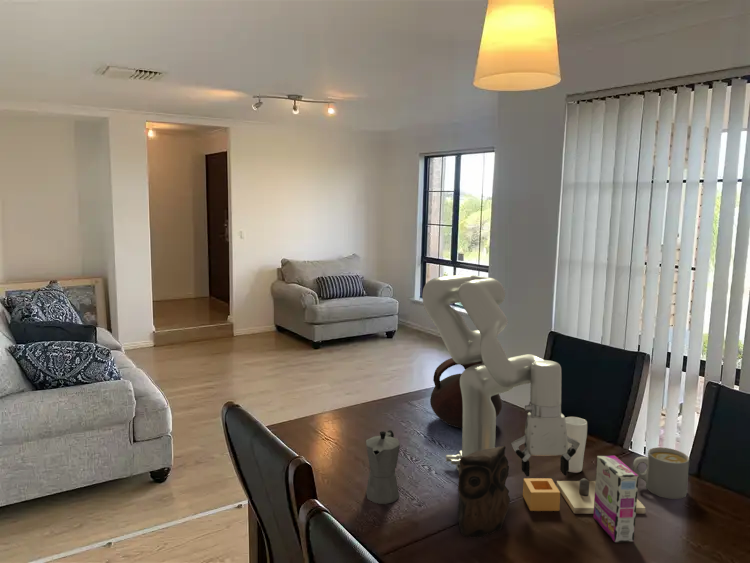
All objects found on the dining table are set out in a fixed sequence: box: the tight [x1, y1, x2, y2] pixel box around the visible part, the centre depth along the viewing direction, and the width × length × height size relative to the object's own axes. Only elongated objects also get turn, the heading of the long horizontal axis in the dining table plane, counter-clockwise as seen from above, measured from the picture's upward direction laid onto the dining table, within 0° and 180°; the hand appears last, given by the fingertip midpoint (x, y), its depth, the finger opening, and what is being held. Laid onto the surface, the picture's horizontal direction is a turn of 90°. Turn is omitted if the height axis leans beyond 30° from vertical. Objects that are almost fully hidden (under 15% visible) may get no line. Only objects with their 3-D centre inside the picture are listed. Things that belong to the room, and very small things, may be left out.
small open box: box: [522, 477, 561, 512], centre depth 148 cm, size 7×7×5 cm
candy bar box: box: [593, 455, 639, 543], centre depth 135 cm, size 11×5×16 cm, turn 5°
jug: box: [429, 357, 503, 429], centre depth 201 cm, size 25×25×25 cm
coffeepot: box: [365, 429, 401, 505], centre depth 152 cm, size 15×9×18 cm, turn 162°
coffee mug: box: [632, 446, 690, 500], centre depth 155 cm, size 13×10×10 cm
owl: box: [457, 445, 511, 539], centre depth 136 cm, size 13×13×20 cm
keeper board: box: [555, 477, 646, 515], centre depth 150 cm, size 18×14×6 cm
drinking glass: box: [564, 416, 588, 474], centre depth 166 cm, size 7×7×15 cm
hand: (545, 473), depth 146 cm, fingers open, 9 cm apart
